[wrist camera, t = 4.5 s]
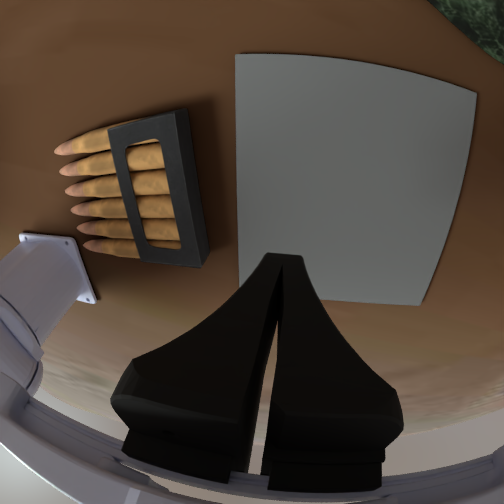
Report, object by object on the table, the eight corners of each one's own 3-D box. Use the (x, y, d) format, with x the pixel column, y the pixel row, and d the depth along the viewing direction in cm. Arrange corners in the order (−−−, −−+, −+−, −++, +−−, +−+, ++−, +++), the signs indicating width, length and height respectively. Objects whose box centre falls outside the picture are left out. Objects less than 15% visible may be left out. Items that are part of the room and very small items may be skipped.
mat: (240, 288, 23) (239, 291, 23) (236, 54, 14) (235, 54, 14) (418, 302, 21) (419, 305, 21) (473, 92, 12) (476, 93, 12)
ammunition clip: (202, 269, 20) (81, 259, 23) (210, 254, 22) (92, 248, 24) (173, 111, 15) (44, 144, 17) (187, 107, 16) (60, 137, 19)
